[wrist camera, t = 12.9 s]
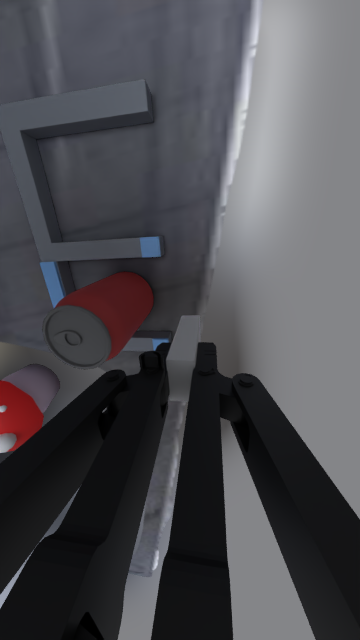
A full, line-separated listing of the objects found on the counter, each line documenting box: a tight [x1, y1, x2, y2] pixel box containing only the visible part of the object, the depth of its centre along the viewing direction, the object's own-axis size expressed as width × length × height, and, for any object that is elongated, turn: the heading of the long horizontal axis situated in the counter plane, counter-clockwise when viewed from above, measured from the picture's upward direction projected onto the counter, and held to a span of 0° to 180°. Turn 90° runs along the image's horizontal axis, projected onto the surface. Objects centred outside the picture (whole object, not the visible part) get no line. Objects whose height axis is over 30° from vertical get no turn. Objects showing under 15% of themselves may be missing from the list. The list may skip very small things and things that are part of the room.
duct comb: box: [0, 79, 172, 351], centre depth 24 cm, size 26×14×2 cm, turn 3°
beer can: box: [42, 271, 154, 369], centre depth 21 cm, size 7×7×12 cm
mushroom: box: [0, 364, 60, 453], centre depth 29 cm, size 11×11×12 cm
